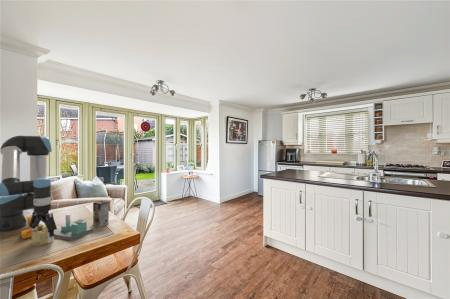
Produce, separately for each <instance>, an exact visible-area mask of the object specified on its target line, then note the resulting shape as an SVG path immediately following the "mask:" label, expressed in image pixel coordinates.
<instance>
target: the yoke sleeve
mask: <svg viewBox="0 0 450 299" xmlns="http://www.w3.org/2000/svg"><path fill="white" fill-rule="evenodd" d="M47 232H48V229H47V227H46V225H45V226H44V224H39V225H38V226H36V230H33V231H32V237H31V246H35V247H39V248H40V247H42V246H45V245H47V244H49V243H48V233H47Z"/></svg>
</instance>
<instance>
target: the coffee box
mask: <svg viewBox="0 0 450 299" xmlns="http://www.w3.org/2000/svg"><path fill="white" fill-rule="evenodd" d="M92 205H93V206H92V208H93V210H92V211H93V213H92V215H93V217H92V218H93V220H92V221H93V225H95V226H97V227H103V226H106V225H108V224H109V206H110V205H109V202H108V201H104V200H98V201H95V202H93V203H92Z"/></svg>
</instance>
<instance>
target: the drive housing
mask: <svg viewBox="0 0 450 299" xmlns="http://www.w3.org/2000/svg"><path fill="white" fill-rule="evenodd" d="M87 222H88V221H85V219H84V217H83V218H82V217H81V218H80V219H77V220H75V221H74V222H72V223H71V214H70V213H69V214H68V213H67V214H65V224H64V225H62V226H61V227H60V228H58V229H56V230H54V239H55V238H56V239H60V240H65V241H70V242H71V241H72V242H73V241H74V240H76V239H79V238H81V237H84V236H85V235H88V234H90V233H92V232H93V231H94V228H93V227H88V225H87Z"/></svg>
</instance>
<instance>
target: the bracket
mask: <svg viewBox="0 0 450 299" xmlns="http://www.w3.org/2000/svg"><path fill="white" fill-rule="evenodd" d="M31 218H32V216H27V219H26V221H27V227H29V224H30V221H31ZM38 225H40V223H39V224H38ZM21 238H22V239H28V238H32V228H28V229H24V230H21Z"/></svg>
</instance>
